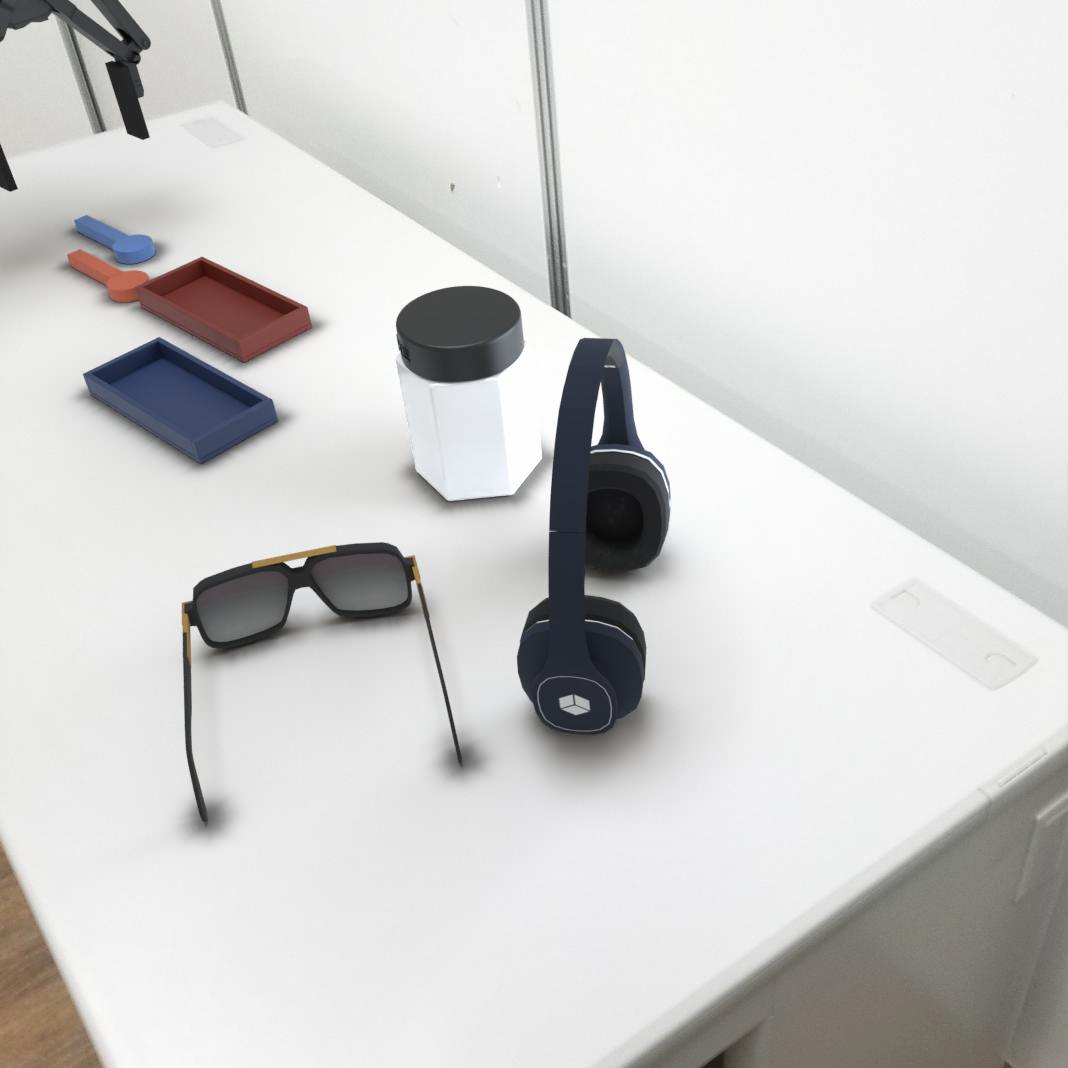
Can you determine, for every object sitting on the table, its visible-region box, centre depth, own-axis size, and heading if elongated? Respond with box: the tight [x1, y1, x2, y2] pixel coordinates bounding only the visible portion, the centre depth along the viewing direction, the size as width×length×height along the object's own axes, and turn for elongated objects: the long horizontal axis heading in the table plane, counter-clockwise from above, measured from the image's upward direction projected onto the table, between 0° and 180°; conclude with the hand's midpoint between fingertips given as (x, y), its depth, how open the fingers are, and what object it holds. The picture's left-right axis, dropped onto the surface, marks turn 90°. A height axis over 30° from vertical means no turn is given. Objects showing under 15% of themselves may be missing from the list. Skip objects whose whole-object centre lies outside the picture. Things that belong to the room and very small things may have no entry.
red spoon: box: [66, 248, 150, 303], centre depth 111 cm, size 11×4×1 cm, turn 48°
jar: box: [394, 285, 543, 502], centre depth 84 cm, size 9×8×12 cm
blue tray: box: [82, 336, 279, 465], centre depth 95 cm, size 15×7×2 cm, turn 48°
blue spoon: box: [73, 214, 156, 265], centre depth 116 cm, size 11×4×1 cm, turn 48°
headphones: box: [516, 337, 672, 735], centre depth 69 cm, size 20×7×18 cm, turn 172°
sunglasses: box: [181, 541, 463, 823], centre depth 70 cm, size 14×15×5 cm
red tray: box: [134, 256, 313, 363], centre depth 105 cm, size 15×7×2 cm, turn 48°
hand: (74, 160), depth 113 cm, fingers open, 13 cm apart
